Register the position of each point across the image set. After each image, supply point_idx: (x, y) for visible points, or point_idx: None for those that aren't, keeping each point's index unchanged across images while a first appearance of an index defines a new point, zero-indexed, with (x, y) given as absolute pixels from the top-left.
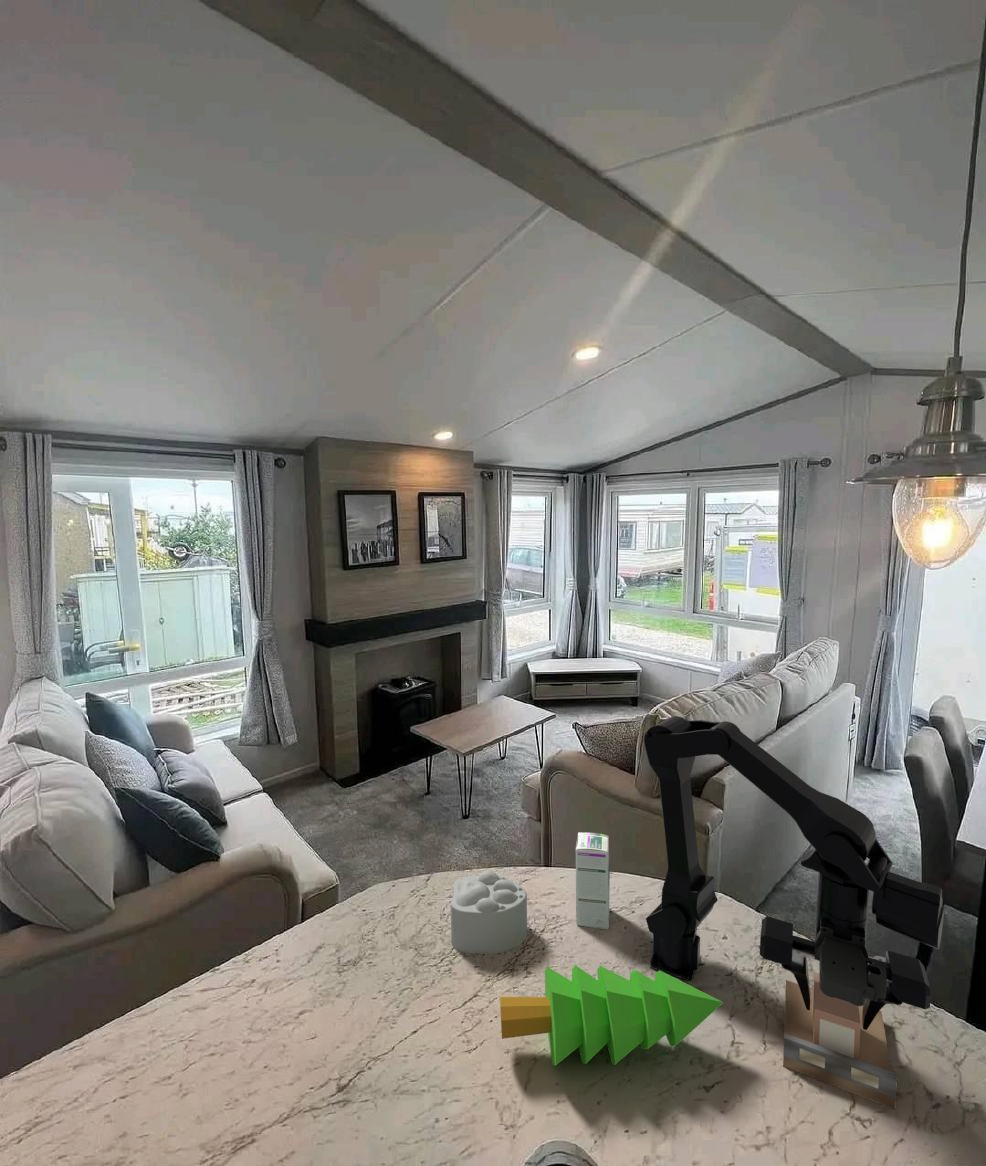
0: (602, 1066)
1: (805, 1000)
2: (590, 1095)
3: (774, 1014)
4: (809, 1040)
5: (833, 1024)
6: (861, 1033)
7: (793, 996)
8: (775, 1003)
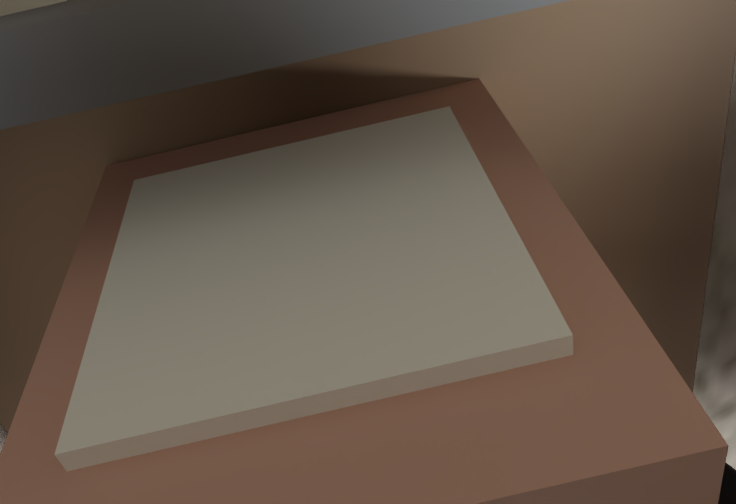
0: None
1: (724, 483)
2: None
3: (725, 273)
4: None
5: (365, 367)
6: None
7: None
8: (711, 352)
